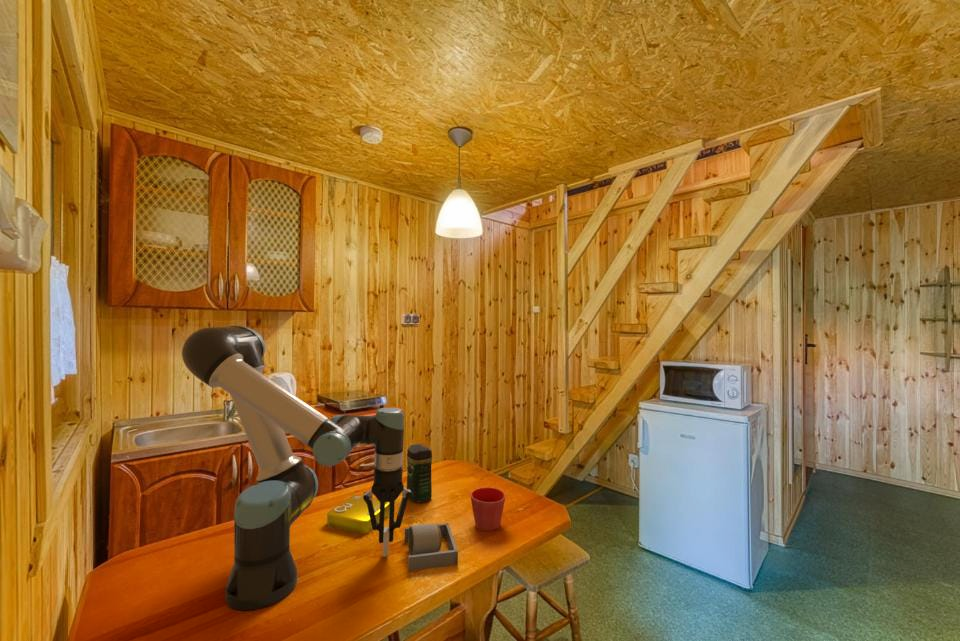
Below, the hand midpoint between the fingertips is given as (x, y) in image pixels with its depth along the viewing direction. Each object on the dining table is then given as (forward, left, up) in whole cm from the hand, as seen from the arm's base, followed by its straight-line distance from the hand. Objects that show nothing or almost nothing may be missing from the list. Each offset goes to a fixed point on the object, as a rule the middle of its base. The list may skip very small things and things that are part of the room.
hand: (385, 553), depth 111 cm
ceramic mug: (+10, +1, -1) cm, 10 cm away
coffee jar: (+12, +34, -1) cm, 36 cm away
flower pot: (+31, +10, -1) cm, 33 cm away
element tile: (-8, +23, -2) cm, 24 cm away
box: (+12, 0, -1) cm, 12 cm away
